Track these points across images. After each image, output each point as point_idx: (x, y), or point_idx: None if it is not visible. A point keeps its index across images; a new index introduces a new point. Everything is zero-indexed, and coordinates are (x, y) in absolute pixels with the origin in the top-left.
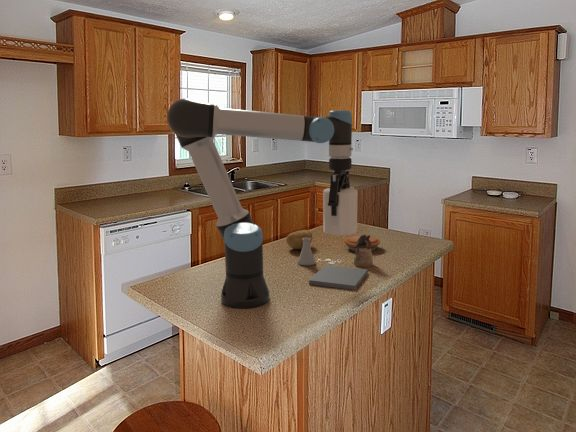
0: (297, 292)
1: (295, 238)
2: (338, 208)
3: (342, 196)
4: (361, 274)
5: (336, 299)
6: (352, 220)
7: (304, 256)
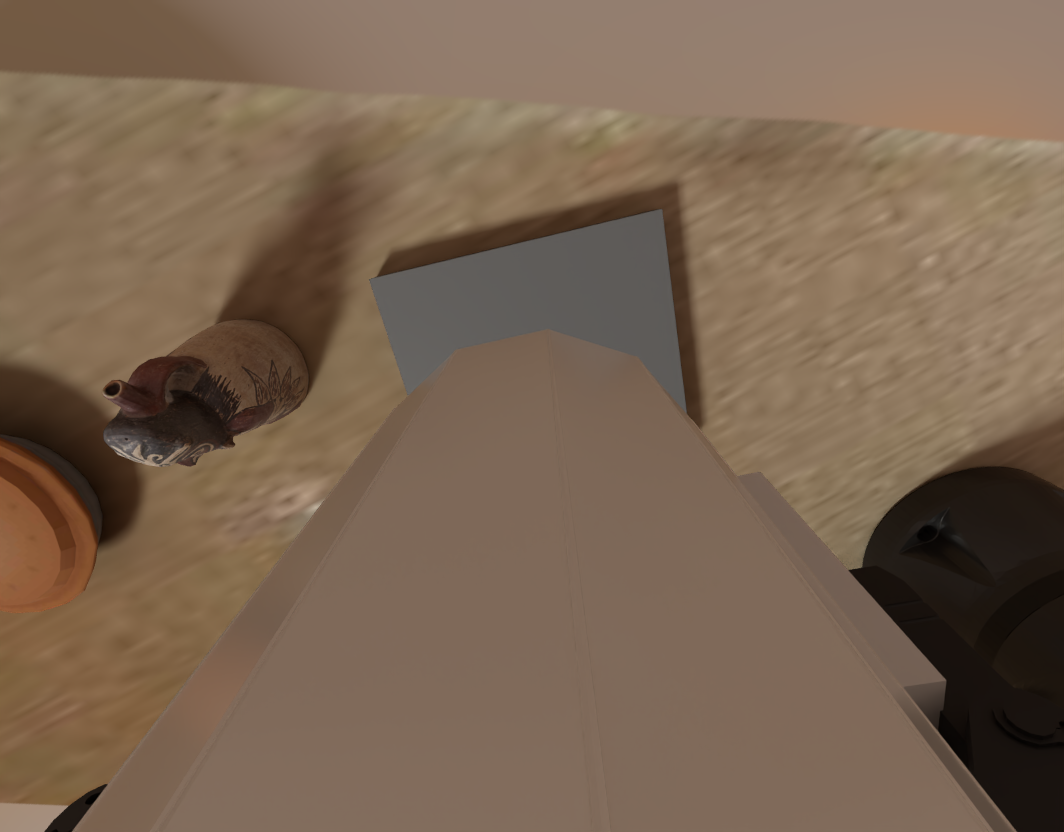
0: (806, 430)
1: None
2: (908, 639)
3: None
4: (467, 268)
5: (824, 226)
6: (599, 386)
7: None
